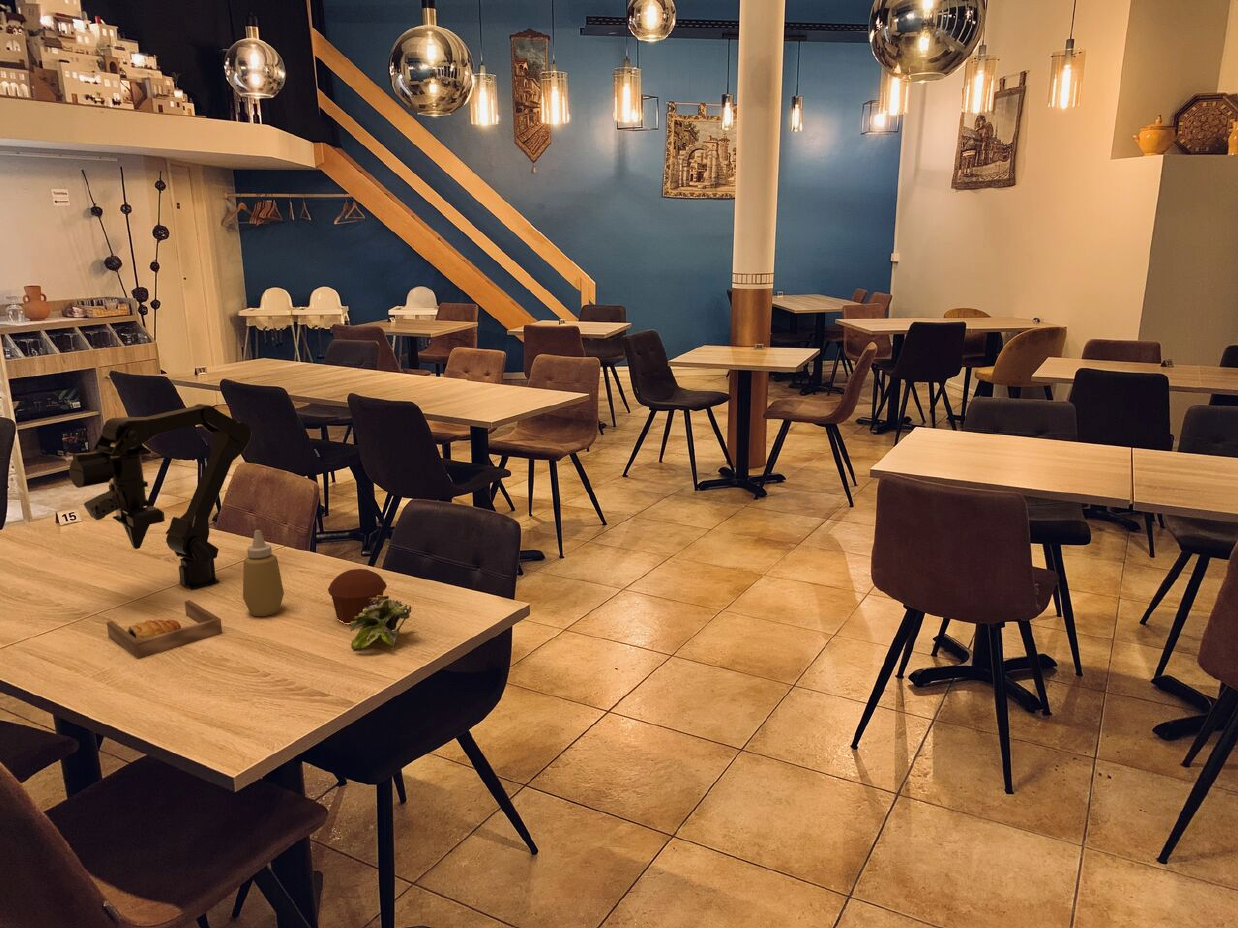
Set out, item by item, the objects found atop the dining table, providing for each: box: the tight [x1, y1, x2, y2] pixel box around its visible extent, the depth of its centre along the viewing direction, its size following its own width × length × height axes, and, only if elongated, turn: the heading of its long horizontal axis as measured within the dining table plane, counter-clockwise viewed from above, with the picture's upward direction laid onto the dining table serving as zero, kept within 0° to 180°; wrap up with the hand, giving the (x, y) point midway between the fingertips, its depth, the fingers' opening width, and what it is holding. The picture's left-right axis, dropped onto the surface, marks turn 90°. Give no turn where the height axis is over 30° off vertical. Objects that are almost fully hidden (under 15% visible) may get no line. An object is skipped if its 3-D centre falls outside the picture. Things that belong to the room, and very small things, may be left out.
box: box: [106, 599, 223, 659], centre depth 178 cm, size 16×14×3 cm
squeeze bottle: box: [242, 529, 285, 617], centre depth 188 cm, size 8×8×18 cm
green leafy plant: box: [349, 594, 412, 651], centre depth 174 cm, size 11×11×12 cm
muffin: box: [327, 568, 388, 623], centre depth 186 cm, size 12×11×10 cm
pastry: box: [126, 619, 182, 641], centre depth 177 cm, size 9×7×4 cm
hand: (136, 548), depth 193 cm, fingers closed
